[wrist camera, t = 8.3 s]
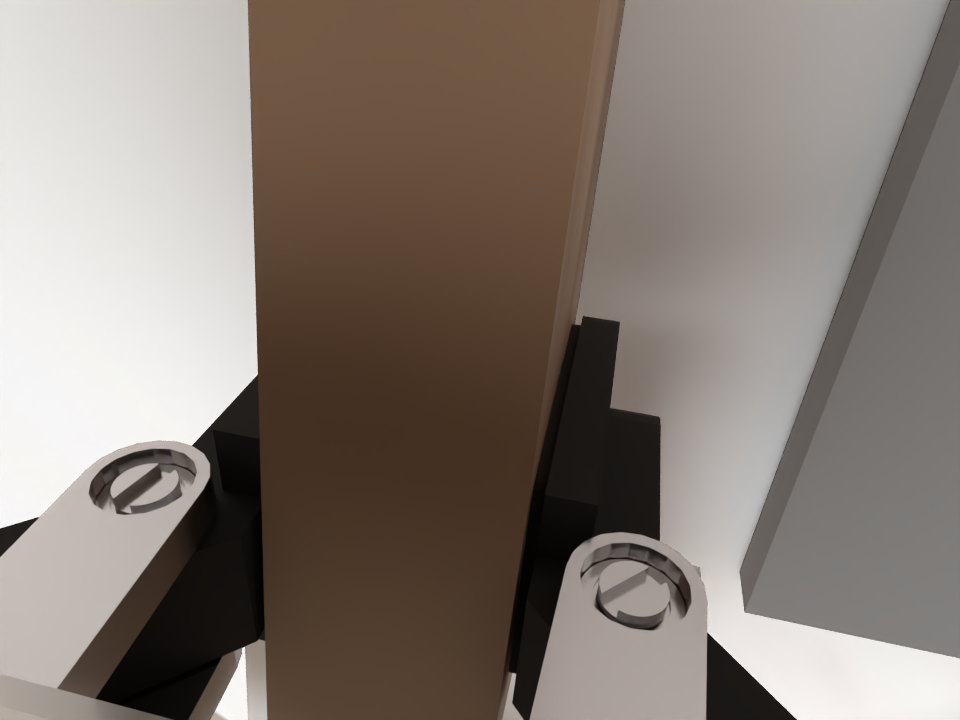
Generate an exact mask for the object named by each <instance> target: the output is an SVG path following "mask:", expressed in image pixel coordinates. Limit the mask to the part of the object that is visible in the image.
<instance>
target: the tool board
mask: <svg viewBox="0 0 960 720" xmlns="http://www.w3.org/2000/svg"><path fill="white" fill-rule="evenodd" d="M740 578H741V586H742V594H743V603H744V611H745V612H746V613H751V614H755V615H760V616H765V617H769V618H774V619H779V620H783V621H788V622H793V623H797V624H802V625H807V626H811V627H816V628H821V629H825V630H830V631H835V632H840V633H844V634H849V635H854V636H858V637H863V638H868V639H872V640H877V641H882V642H886V643H891V644H896V645H900V646H905V647H910V648H914V649H919V650H924V651H929V652H933V653H938V654H943V655H947V656H952V657H957V658H960V0H951V1H950V3H949V6H948V9H947V11H946V14H945V17H944V20H943V22H942V25H941V28H940V30H939V33H938V36H937V39H936V41H935V44H934V47H933V49H932V52H931V55H930V58H929V60H928V63H927V66H926V68H925V71H924V74H923V76H922V79H921V82H920V85H919V87H918V90H917V93H916V95H915V98H914V101H913V104H912V106H911V109H910V112H909V114H908V117H907V120H906V123H905V125H904V128H903V131H902V133H901V136H900V139H899V142H898V144H897V147H896V150H895V152H894V155H893V158H892V161H891V163H890V166H889V169H888V171H887V174H886V177H885V179H884V182H883V185H882V188H881V190H880V193H879V196H878V198H877V201H876V204H875V207H874V209H873V212H872V215H871V217H870V220H869V223H868V226H867V228H866V231H865V234H864V236H863V239H862V242H861V245H860V247H859V250H858V253H857V255H856V258H855V261H854V264H853V266H852V269H851V272H850V274H849V277H848V280H847V282H846V285H845V288H844V291H843V293H842V296H841V299H840V301H839V304H838V307H837V310H836V312H835V315H834V318H833V320H832V323H831V326H830V329H829V331H828V334H827V337H826V339H825V342H824V345H823V348H822V350H821V353H820V356H819V358H818V361H817V364H816V367H815V369H814V372H813V375H812V377H811V380H810V383H809V385H808V388H807V391H806V394H805V396H804V399H803V402H802V404H801V407H800V410H799V413H798V415H797V418H796V421H795V423H794V426H793V429H792V432H791V434H790V437H789V440H788V442H787V445H786V448H785V451H784V453H783V456H782V459H781V461H780V464H779V467H778V470H777V472H776V475H775V478H774V480H773V483H772V486H771V488H770V491H769V494H768V497H767V499H766V502H765V505H764V507H763V510H762V513H761V516H760V518H759V521H758V524H757V526H756V529H755V532H754V535H753V537H752V540H751V543H750V545H749V548H748V551H747V554H746V556H745V559H744V562H743V564H742V567H741V570H740Z"/></svg>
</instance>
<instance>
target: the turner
mask: <svg viewBox="0 0 960 720" xmlns="http://www.w3.org/2000/svg"><path fill="white" fill-rule="evenodd" d="M624 5H625V0H248V20H249V57H250V94H251V131H252V169H253V206H254V243H255V281H256V318H257V355H258V393H259V430H260V467H261V504H262V542H263V579H264V616H265V641H263V640H259V639H258V641H257V642H254V643H252V644H250V645H247V646H245V655H246V679H247V703H248V720H523V718H522V717H521V715H520V714H519V712H518V711H517V710H516V708H515V707H514V705H513V704H512V700H513V693H514V686H515V679H516V674H515V673H510V672H509V662H510V655H511V647H512V640H513V632H514V625H515V617H516V610H517V602H518V594H519V587H520V579H521V572H522V564H523V557H524V549H525V542H526V534H527V526H528V519H529V512H530V505H531V499H532V494H533V488H534V483H535V478H536V474H537V470H538V465H539V461H540V457H541V453H542V448H543V444H544V440H545V436H546V431H547V427H548V423H549V419H550V415H551V410H552V406H553V402H554V398H555V393H556V389H557V385H558V381H559V376H560V372H561V368H562V364H563V360H564V355H565V351H566V347H567V343H568V338H569V334H570V330H571V326H572V324H574V325H575V319H576V313H577V307H578V300H579V294H580V287H581V281H582V274H583V268H584V262H585V255H586V249H587V242H588V236H589V230H590V223H591V217H592V210H593V204H594V197H595V191H596V185H597V178H598V172H599V165H600V159H601V152H602V146H603V140H604V133H605V127H606V120H607V114H608V108H609V101H610V95H611V88H612V82H613V75H614V69H615V63H616V56H617V50H618V43H619V37H620V30H621V24H622V18H623V11H624ZM693 567H694V568H695V570H696V571H697V573H698V575H699V577H700V578H701V574H700V567H697V566H693Z"/></svg>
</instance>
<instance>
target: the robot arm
mask: <svg viewBox="0 0 960 720" xmlns="http://www.w3.org/2000/svg"><path fill="white" fill-rule="evenodd" d="M619 325H620V322H617V321H611V320H604V319H598V318H591V317H585V316H583V318H582V323H581V326H580V325H574V324H572V326H571V330H570V334H569V338H568V343H567V347H566V351H565V355H564V360H563V364H562V368H561V372H560V376H559V381H558V385H557V389H556V393H555V398H554V402H553V406H552V410H551V415H550V419H549V423H548V427H547V431H546V436H545V440H544V444H543V448H542V453H541V457H540V461H539V465H538V470H537V474H536V478H535V483H534V488H533V494H532V499H531V505H530V512H529V519H528V526H527V534H526V542H525V549H524V557H523V564H522V572H521V579H520V587H519V594H518V602H517V610H516V617H515V625H514V632H513V640H512V647H511V655H510V662H509V672H510V673H515V674H516V679H515V686H514V693H513V700H512V704H513V705H514V707H515V708H516V710H517V711H518V712H519V714H520V715H521V717H522V718H523V720H797V719H796V718H794V717H793V716H792V715H791V714H790V713H789V712H788V711H787V710H786V709H785V708H784V707H783V706H782V705H781V704H780V703H779V702H778V701H777V700H776V699H775V698H774V697H773V696H772V695H771V694H770V693H769V692H768V691H767V690H766V689H765V688H764V687H763V686H762V685H761V684H760V683H759V682H758V681H756V680H755V679H754V678H753V677H752V676H751V675H750V674H749V673H748V672H747V671H746V670H745V669H744V668H743V667H742V666H741V665H740V664H739V663H738V662H737V661H736V660H735V659H734V658H733V657H732V656H731V655H730V654H729V653H728V652H727V651H726V650H725V649H724V648H723V647H722V646H721V645H720V644H719V643H717V642H716V641H715V640H714V639H713V638H712V637H711V636H710V635H709V634H708V633H707V597H706V592H705V587H704V583H703V582H702V580H701V578H700V577H699V575H698V573H697V571H696V570H695V568H694V567H693V566H692V565H691V564H690V563H689V562H688V561H687V560H686V559H685V558H684V557H683V556H682V555H681V554H680V553H679V552H677V551H675V550H674V549H672V548H670V547H669V546H667V545H666V544H664V543H662V542H660V430H661V425H660V418H659V417H658V416H652V415H646V414H641V413H635V412H629V411H624V410H618V409H612V408H610V403H611V395H612V386H613V377H614V369H615V360H616V351H617V342H618V334H619ZM258 639H259V640H263V641H265V616H264V579H263V542H262V504H261V467H260V430H259V393H258V375H257V376H256V377H255V378H254V379H253V380H252V382H251V383H250V384H249V385H248V386H247V387H246V388H245V389H244V390H243V391H242V392H241V393H240V395H239V396H238V397H237V398H236V399H235V400H234V401H233V402H232V403H231V404H230V405H229V406H228V408H227V409H226V410H225V411H224V412H223V413H222V414H221V415H220V416H219V417H218V418H217V419H216V420H215V422H214V423H213V424H212V425H211V426H210V427H209V428H208V429H207V430H206V431H205V432H204V433H203V435H202V436H201V437H200V438H199V439H198V440H197V441H196V442H195V443H194V444H193V445H192V446H191V445H187V444H184V443H180V442H175V441H152V442H144V443H138V444H134V445H131V446H128V447H125V448H121V449H118V450H116V451H114V452H112V453H110V454H108V455H106V456H104V457H102V458H101V459H99V460H98V461H97V462H95V463H94V464H93V465H92V466H90V467H89V468H88V469H87V470H85V471H84V472H83V473H82V475H81V476H80V477H79V478H78V479H77V480H76V481H75V482H74V483H73V484H72V485H71V486H70V487H69V488H68V489H67V490H66V491H65V492H64V493H63V494H62V495H61V496H60V497H59V498H58V499H57V500H56V501H55V502H54V503H53V504H52V505H51V506H50V507H49V508H48V509H47V510H46V511H45V512H44V513H43V514H42V515H41V516H40V517H37V518H34V519H31V520H27V521H24V522H21V523H17V524H14V525H11V526H8V527H4V528H1V529H0V720H210V719H211V717H212V715H213V714H214V712H215V710H216V708H217V706H218V704H219V702H220V700H221V698H222V696H223V694H224V692H225V690H226V688H227V686H228V684H229V682H230V680H231V678H232V676H233V674H234V672H235V671H236V669H237V666H238V663H239V660H240V657H241V654H242V648H243V647H245V646H247V645H250V644H252V643H254V642H257V641H258Z"/></svg>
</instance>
